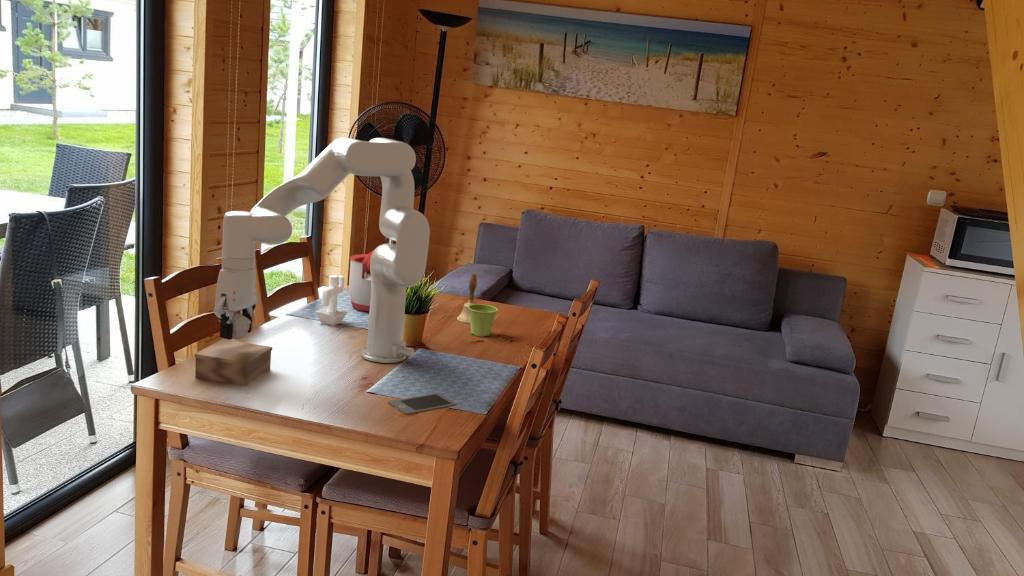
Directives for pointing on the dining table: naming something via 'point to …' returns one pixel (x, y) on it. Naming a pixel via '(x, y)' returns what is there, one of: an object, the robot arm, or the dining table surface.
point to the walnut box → (233, 362)
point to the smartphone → (421, 403)
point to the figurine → (332, 302)
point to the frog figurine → (239, 325)
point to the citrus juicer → (360, 281)
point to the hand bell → (465, 313)
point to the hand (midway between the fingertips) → (235, 334)
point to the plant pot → (481, 319)
